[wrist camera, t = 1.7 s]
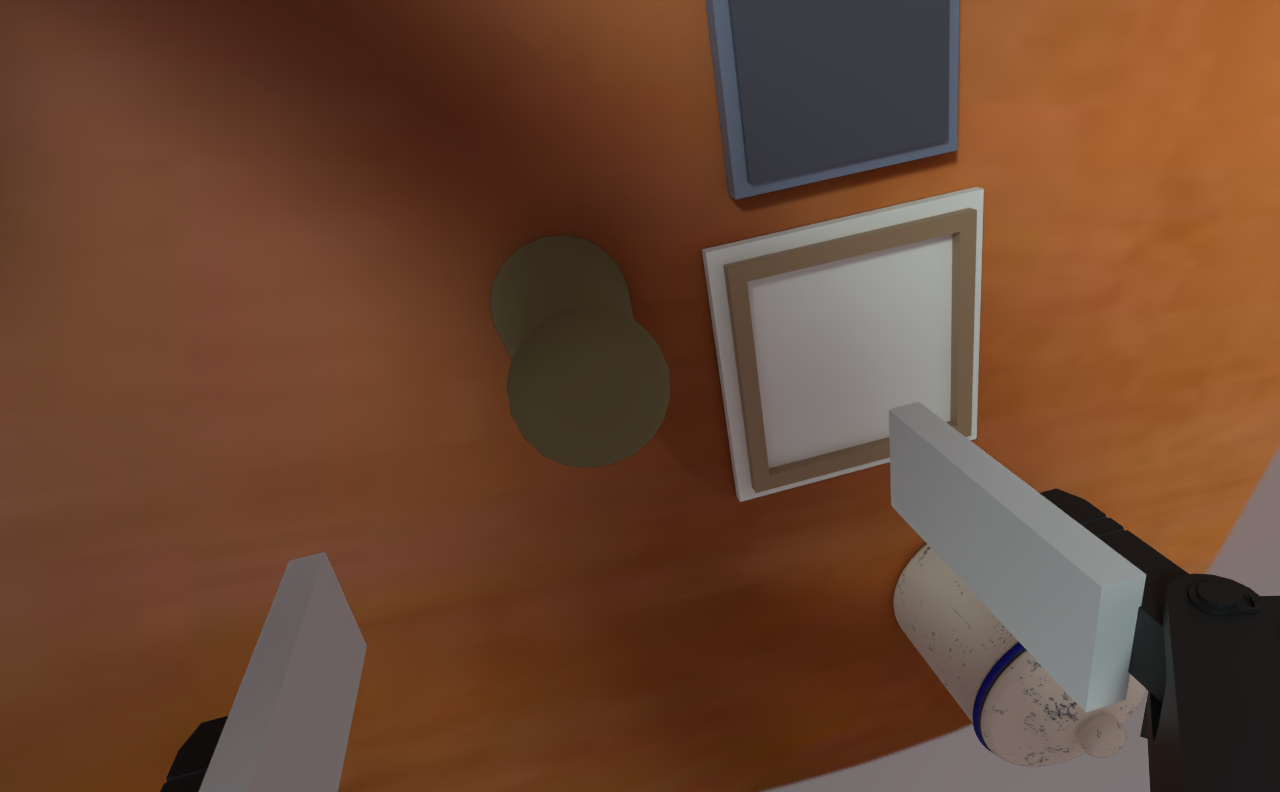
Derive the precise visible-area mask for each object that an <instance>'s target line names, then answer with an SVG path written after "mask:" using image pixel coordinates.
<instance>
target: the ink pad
mask: <svg viewBox="0 0 1280 792" xmlns="http://www.w3.org/2000/svg"><path fill="white" fill-rule="evenodd" d="M705 1H706V10H707V18H708V26H709V34H710V43H711V51H712V59H713V68H714V76H715V84H716V92H717V101H718V109H719V117H720V126H721V134H722V142H723V151H724V159H725V167H726V175H727V184H728V192H729V197H731V198H733V199H735V200H736V199H741V198H745V197H750V196H754V195H759V194H763V193H768V192H772V191H777V190H781V189H786V188H790V187H795V186H799V185H804V184H808V183H813V182H817V181H822V180H826V179H831V178H835V177H840V176H844V175H849V174H853V173H858V172H862V171H867V170H871V169H876V168H880V167H885V166H889V165H894V164H898V163H903V162H907V161H912V160H916V159H921V158H925V157H930V156H934V155H939V154H943V153H948V152H952V151H957V136H958V61H959V0H705Z"/></svg>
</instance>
